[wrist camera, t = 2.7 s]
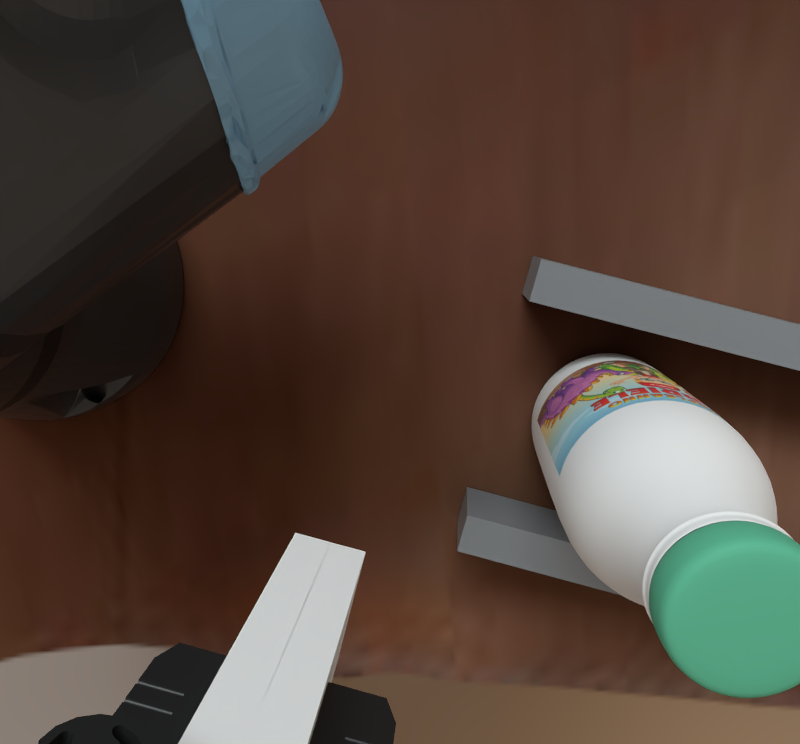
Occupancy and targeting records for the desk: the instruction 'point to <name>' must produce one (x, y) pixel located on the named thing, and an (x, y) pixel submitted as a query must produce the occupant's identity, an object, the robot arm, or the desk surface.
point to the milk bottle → (674, 520)
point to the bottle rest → (633, 307)
